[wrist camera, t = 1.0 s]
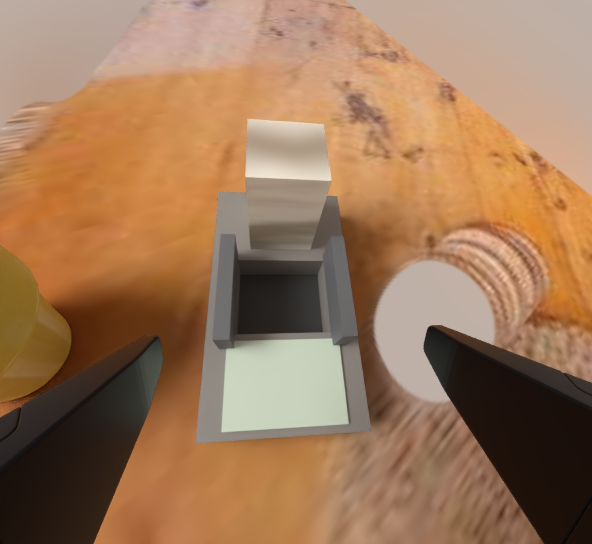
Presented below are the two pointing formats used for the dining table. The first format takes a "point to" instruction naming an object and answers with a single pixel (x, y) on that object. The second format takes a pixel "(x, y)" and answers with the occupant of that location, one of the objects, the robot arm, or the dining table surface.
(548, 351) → the dining table surface
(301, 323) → the tunnel deck
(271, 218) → the cream block
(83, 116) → the dining table surface
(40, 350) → the plant pot
